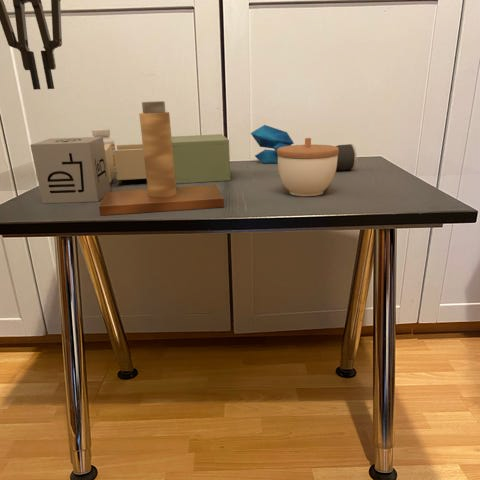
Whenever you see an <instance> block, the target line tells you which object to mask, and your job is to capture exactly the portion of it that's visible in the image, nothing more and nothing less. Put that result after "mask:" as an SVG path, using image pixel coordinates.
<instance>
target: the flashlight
mask: <svg viewBox="0 0 480 480" xmlns="http://www.w3.org/2000/svg"><path fill="white" fill-rule="evenodd" d="M335 146H336V147H338V148H339V153H338V160H337V168H336V171H339V172H341V171H352V170H354V169H355V167H356V165H357V149H356V146H355V145H354V144H352V143H350V144H348V143H347V144H338V145H335ZM350 169H351V170H350Z"/></svg>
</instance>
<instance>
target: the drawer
mask: <svg viewBox="0 0 480 480" xmlns="http://www.w3.org/2000/svg"><path fill="white" fill-rule="evenodd" d="M104 148H105V154H106V161H107V168H108V174H109V181H110V184H111V183H112V180H113V179H114V177H115V175H116V180H117V181H127V180H145V179H146V180H147V178H146V169H145V161H144V152H143V143H132V144H131V143H129V144H117V145H116V149H115V150H113V153H114V160H115V167H116V173H115V169H114V162H113V155H112V148H111V144H105V146H104Z"/></svg>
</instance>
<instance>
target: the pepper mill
mask: <svg viewBox="0 0 480 480" xmlns="http://www.w3.org/2000/svg"><path fill="white" fill-rule="evenodd" d="M141 109H142V112H140V113H138V116H139V124H140V125H139V126H140V134H141V144H143V152H144V161H145V169H146V178H147V179H146V186H147V189H148V195H149V196H150V197H155V198H162V197H170V196H174V195H176V187H177V184H176V182H175V171H174V160H173V148H172V137H173V136H172V128H171V116H170V111H166V102H165V101H163V100H154V101H153V100H152V101H142V102H141Z"/></svg>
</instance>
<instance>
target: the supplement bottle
mask: <svg viewBox="0 0 480 480" xmlns="http://www.w3.org/2000/svg"><path fill="white" fill-rule="evenodd" d="M91 133H92V137H103V141H104V146H105V144H111V148H112V155H113V162H114V169H115V174H116V167H115V160H114V153H113V150H116V145H115V140H114V139H113V138H111V129H110V128H94V129H91Z"/></svg>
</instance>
